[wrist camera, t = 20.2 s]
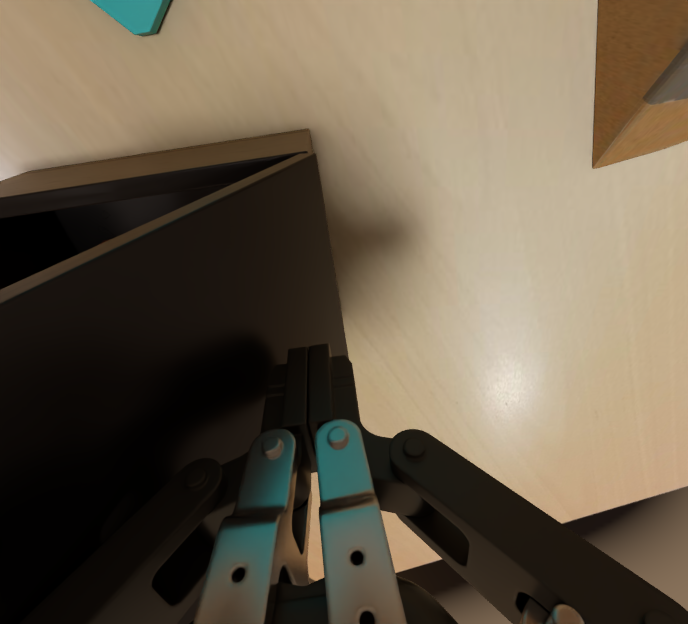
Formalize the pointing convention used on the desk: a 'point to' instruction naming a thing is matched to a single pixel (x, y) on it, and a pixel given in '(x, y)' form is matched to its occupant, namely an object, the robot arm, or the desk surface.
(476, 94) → the desk surface
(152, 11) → the diskette
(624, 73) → the sandwich container
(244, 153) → the dark brown box
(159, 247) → the lid
